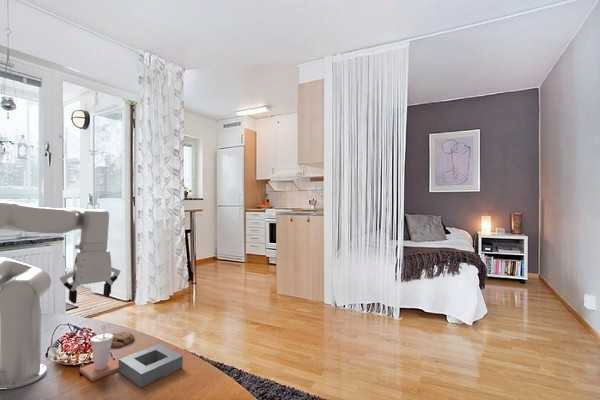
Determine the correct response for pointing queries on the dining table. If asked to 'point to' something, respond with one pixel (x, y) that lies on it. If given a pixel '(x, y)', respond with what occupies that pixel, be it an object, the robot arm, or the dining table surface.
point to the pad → (96, 374)
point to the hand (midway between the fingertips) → (90, 299)
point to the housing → (143, 374)
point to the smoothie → (101, 349)
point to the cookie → (121, 339)
